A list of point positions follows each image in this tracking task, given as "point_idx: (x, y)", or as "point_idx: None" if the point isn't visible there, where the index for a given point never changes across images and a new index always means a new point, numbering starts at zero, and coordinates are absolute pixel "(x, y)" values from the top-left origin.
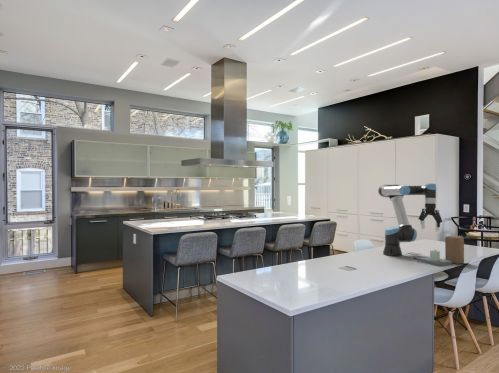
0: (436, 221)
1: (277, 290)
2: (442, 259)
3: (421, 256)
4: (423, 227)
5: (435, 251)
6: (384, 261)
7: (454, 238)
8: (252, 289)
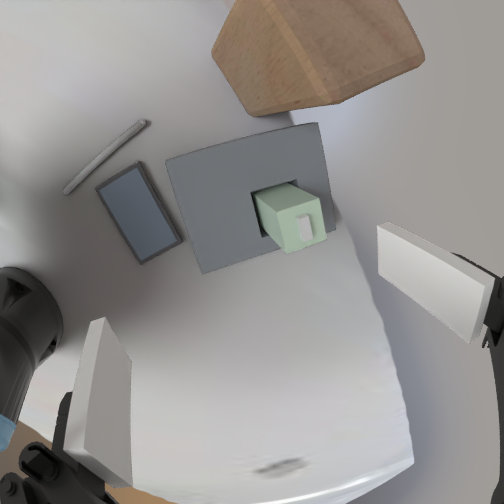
0: (495, 351)
1: (365, 487)
2: (261, 141)
3: (78, 183)
4: (115, 354)
5: (318, 232)
6: (199, 402)
7: (402, 73)
8: (351, 499)
